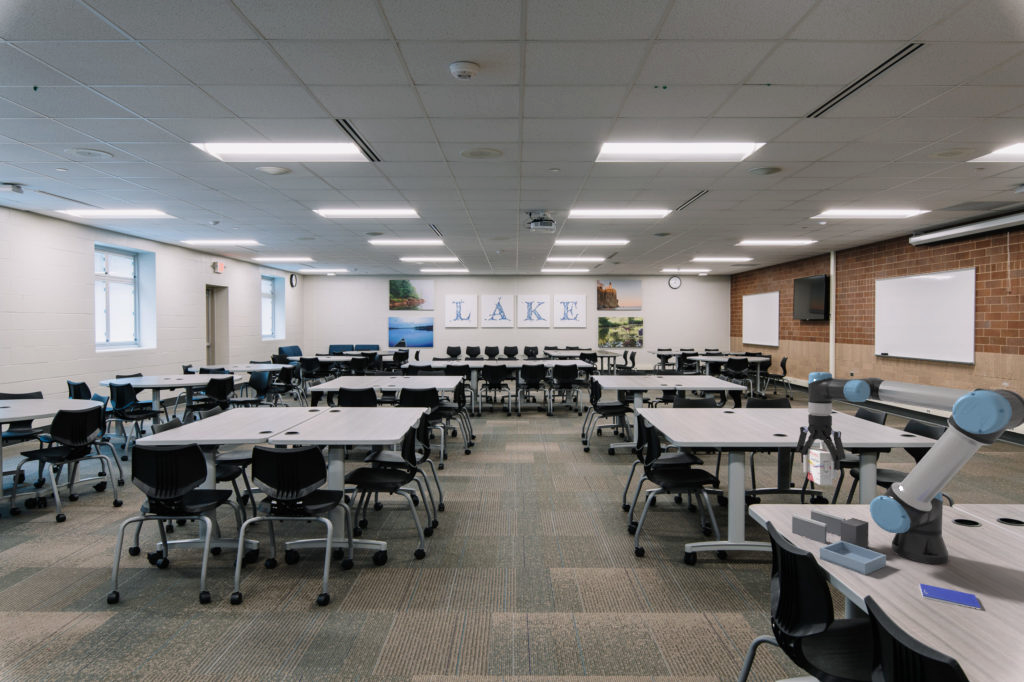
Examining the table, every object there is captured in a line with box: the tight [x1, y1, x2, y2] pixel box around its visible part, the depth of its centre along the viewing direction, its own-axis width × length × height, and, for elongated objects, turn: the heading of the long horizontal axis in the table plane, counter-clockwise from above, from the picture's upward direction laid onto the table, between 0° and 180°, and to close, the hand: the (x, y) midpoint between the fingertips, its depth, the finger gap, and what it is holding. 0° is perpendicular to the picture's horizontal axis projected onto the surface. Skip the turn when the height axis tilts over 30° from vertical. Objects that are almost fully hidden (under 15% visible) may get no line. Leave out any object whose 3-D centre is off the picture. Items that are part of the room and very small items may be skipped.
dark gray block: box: [839, 517, 869, 549], centre depth 183 cm, size 5×8×9 cm, turn 120°
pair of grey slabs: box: [791, 508, 846, 544], centre depth 195 cm, size 12×13×7 cm
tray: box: [819, 540, 887, 576], centre depth 171 cm, size 14×13×4 cm
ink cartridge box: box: [807, 439, 834, 486], centre depth 194 cm, size 9×5×15 cm, turn 179°
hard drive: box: [918, 583, 981, 609], centre depth 149 cm, size 2×8×12 cm
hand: (820, 474), depth 194 cm, fingers closed on ink cartridge box, 9 cm apart
